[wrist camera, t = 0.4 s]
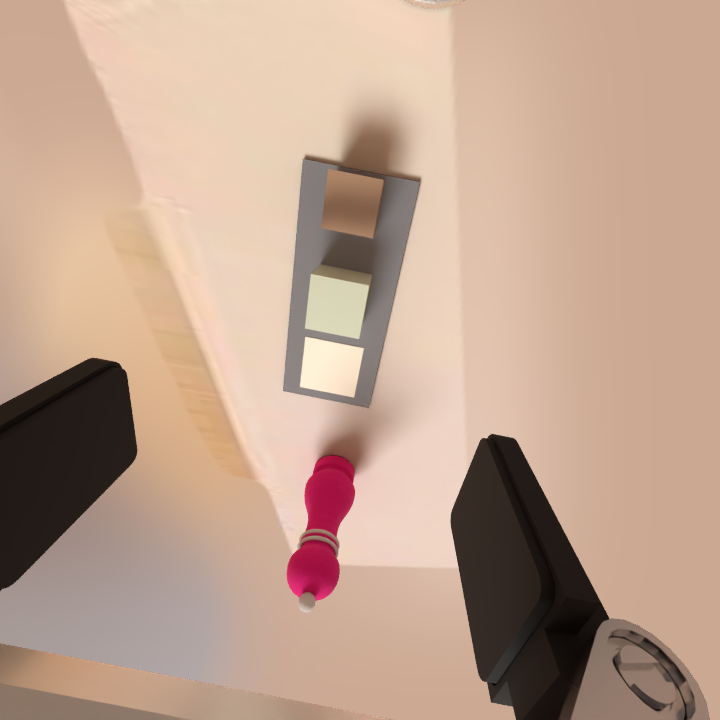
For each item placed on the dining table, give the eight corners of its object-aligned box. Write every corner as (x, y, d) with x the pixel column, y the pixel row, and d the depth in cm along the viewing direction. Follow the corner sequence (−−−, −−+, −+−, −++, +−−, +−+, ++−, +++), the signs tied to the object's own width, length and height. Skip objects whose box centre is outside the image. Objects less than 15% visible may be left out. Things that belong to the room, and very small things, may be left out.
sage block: (320, 264, 39) (310, 273, 35) (372, 274, 39) (369, 285, 35) (314, 313, 42) (304, 328, 37) (362, 323, 42) (359, 339, 37)
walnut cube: (336, 171, 35) (328, 168, 30) (384, 180, 35) (383, 179, 30) (329, 223, 37) (321, 228, 33) (375, 232, 37) (372, 238, 33)
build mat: (303, 159, 35) (302, 158, 35) (419, 182, 35) (420, 181, 35) (283, 389, 48) (282, 391, 47) (368, 406, 48) (368, 408, 47)
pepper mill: (358, 454, 52) (339, 594, 34) (356, 489, 55) (339, 633, 37) (310, 450, 52) (268, 586, 34) (312, 485, 55) (273, 625, 38)
